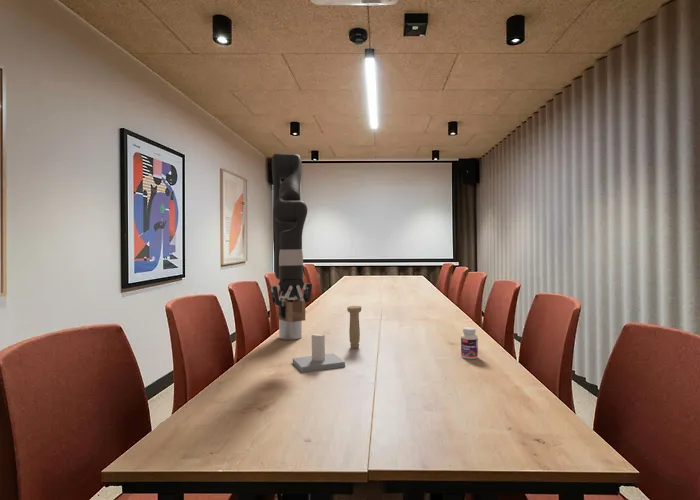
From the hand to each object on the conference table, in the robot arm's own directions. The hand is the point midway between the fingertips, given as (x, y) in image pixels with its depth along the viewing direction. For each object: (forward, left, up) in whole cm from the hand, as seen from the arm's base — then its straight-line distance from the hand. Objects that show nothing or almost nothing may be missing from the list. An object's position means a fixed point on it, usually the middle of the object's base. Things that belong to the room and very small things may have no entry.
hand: (291, 316), depth 129 cm
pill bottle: (+15, +57, -16) cm, 61 cm away
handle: (-13, +27, -16) cm, 34 cm away
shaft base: (+2, +8, -15) cm, 18 cm away
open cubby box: (0, 0, -1) cm, 1 cm away
